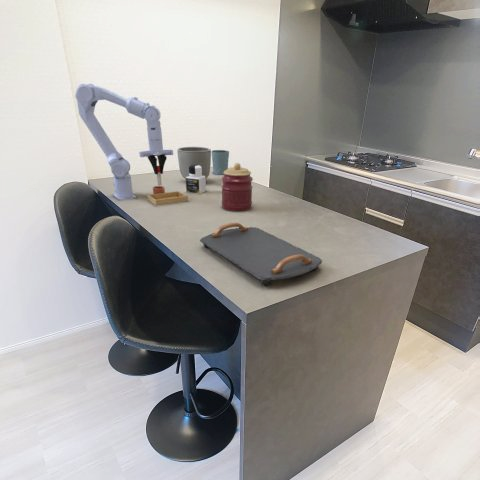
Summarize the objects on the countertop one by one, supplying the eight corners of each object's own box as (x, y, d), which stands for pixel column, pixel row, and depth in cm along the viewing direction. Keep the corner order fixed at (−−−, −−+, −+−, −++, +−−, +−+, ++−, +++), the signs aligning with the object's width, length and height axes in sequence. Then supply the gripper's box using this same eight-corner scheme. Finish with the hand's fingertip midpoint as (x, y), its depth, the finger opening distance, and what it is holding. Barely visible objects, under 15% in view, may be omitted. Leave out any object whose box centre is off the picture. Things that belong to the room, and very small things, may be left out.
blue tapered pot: (210, 174, 205) (209, 151, 199) (214, 171, 214) (213, 149, 207) (227, 175, 204) (227, 152, 197) (230, 172, 212) (230, 150, 206)
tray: (147, 200, 157) (147, 195, 156) (178, 196, 164) (178, 191, 163) (156, 206, 150) (155, 200, 149) (188, 201, 157) (187, 196, 156)
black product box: (186, 192, 170) (184, 166, 163) (193, 189, 176) (192, 163, 169) (199, 194, 168) (198, 167, 161) (206, 191, 174) (205, 164, 167)
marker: (157, 184, 159) (155, 165, 155) (161, 184, 160) (159, 165, 156) (158, 185, 158) (156, 166, 153) (162, 185, 159) (160, 166, 154)
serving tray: (194, 244, 116) (193, 226, 112) (250, 232, 127) (251, 214, 124) (267, 293, 90) (269, 271, 86) (330, 272, 101) (334, 252, 97)
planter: (194, 176, 199) (192, 145, 190) (218, 181, 191) (217, 149, 182) (172, 182, 187) (169, 149, 178) (196, 187, 179) (195, 153, 170)
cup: (152, 196, 164) (150, 186, 161) (162, 194, 166) (161, 185, 164) (156, 198, 160) (155, 189, 158) (167, 197, 162) (166, 188, 160)
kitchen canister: (257, 207, 152) (260, 163, 143) (237, 213, 145) (238, 167, 135) (236, 201, 160) (236, 159, 150) (215, 206, 152) (214, 162, 142)
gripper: (141, 141, 143) (146, 177, 150) (175, 139, 149) (177, 173, 157) (136, 139, 148) (140, 173, 155) (168, 137, 154) (171, 170, 162)
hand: (158, 173), depth 156 cm, fingers closed on marker, 2 cm apart
